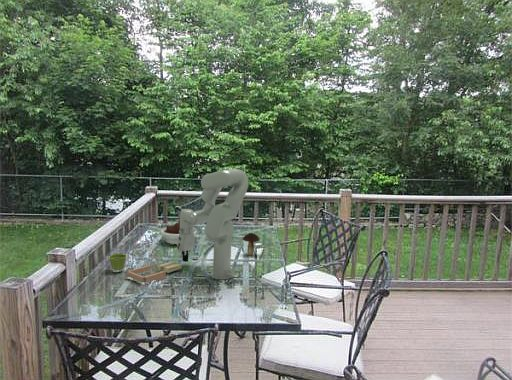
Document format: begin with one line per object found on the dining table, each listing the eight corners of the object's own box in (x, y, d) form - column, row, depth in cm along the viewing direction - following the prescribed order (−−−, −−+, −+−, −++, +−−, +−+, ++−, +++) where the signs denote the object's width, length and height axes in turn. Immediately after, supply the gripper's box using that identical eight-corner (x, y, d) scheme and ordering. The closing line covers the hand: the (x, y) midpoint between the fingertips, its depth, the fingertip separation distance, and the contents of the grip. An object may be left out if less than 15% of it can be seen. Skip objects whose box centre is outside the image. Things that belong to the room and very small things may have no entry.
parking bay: (165, 278, 218) (165, 271, 217) (144, 285, 207) (144, 278, 206) (148, 272, 226) (148, 265, 226) (126, 278, 215) (126, 271, 214)
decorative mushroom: (258, 258, 261) (259, 235, 259) (241, 257, 261) (242, 234, 259) (258, 253, 272) (259, 231, 270) (242, 252, 272) (243, 230, 270)
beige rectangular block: (182, 270, 232) (183, 264, 232) (168, 275, 223) (168, 268, 223) (173, 267, 237) (173, 261, 236) (158, 271, 228) (158, 265, 228)
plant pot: (121, 275, 220) (121, 259, 219) (105, 273, 222) (105, 257, 221) (129, 269, 229) (129, 254, 228) (114, 268, 231) (114, 253, 230)
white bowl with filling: (158, 239, 296) (159, 218, 294) (193, 238, 304) (193, 218, 302) (161, 248, 272) (162, 226, 270) (199, 247, 280) (199, 225, 278)
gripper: (181, 234, 228) (180, 265, 231) (200, 229, 240) (198, 259, 243) (172, 231, 233) (171, 262, 235) (191, 227, 245) (189, 256, 247)
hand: (185, 261), depth 239 cm, fingers closed
